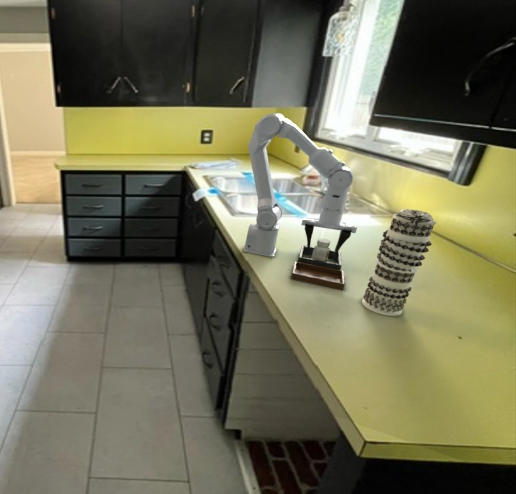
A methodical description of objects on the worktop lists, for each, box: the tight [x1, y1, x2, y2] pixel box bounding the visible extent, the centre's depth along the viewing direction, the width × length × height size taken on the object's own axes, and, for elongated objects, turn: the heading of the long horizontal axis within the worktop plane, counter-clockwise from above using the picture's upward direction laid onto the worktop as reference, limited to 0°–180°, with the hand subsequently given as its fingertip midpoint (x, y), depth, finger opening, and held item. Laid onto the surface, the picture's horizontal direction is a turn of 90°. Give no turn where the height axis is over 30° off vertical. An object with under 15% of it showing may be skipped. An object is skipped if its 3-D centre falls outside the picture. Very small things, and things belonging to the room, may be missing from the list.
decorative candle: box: [361, 208, 437, 317], centre depth 87 cm, size 9×9×25 cm
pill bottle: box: [310, 238, 331, 262], centre depth 114 cm, size 4×4×8 cm
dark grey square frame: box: [297, 244, 342, 270], centre depth 115 cm, size 11×11×3 cm
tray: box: [290, 261, 346, 291], centre depth 106 cm, size 13×9×2 cm
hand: (321, 250), depth 114 cm, fingers open, 7 cm apart
